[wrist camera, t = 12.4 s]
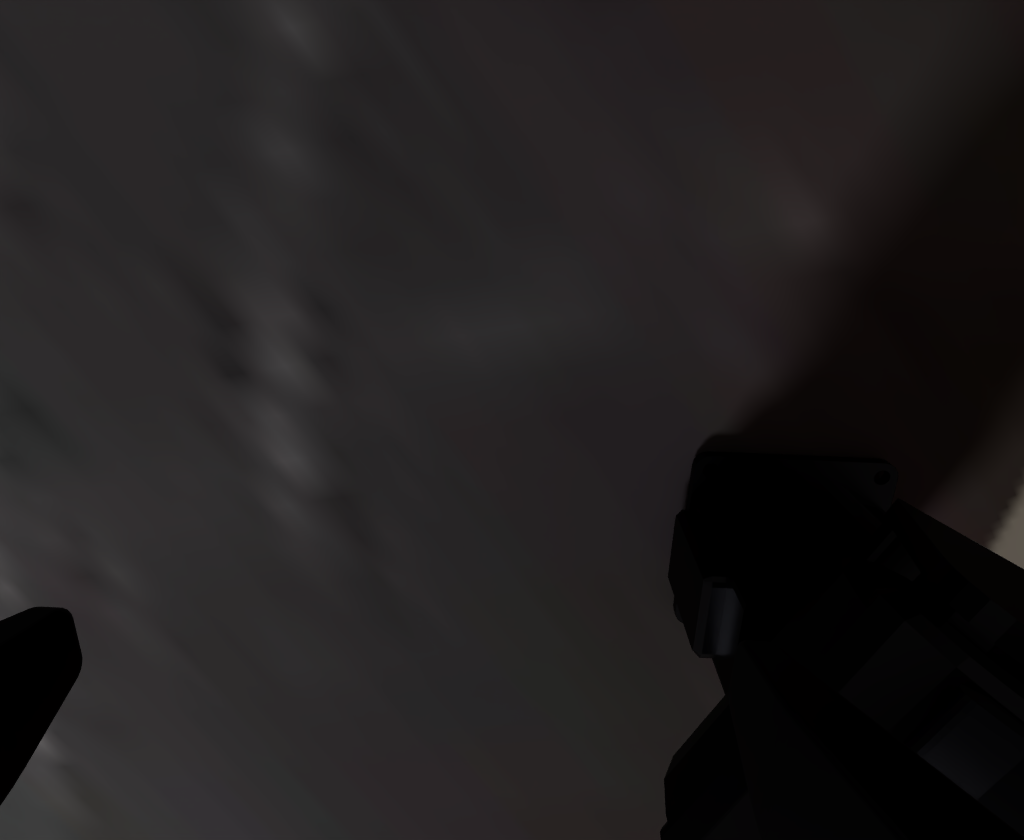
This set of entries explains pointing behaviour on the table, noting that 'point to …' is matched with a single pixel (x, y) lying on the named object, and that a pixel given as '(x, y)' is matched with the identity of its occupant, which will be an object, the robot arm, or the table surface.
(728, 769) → the robot arm
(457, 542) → the table surface
